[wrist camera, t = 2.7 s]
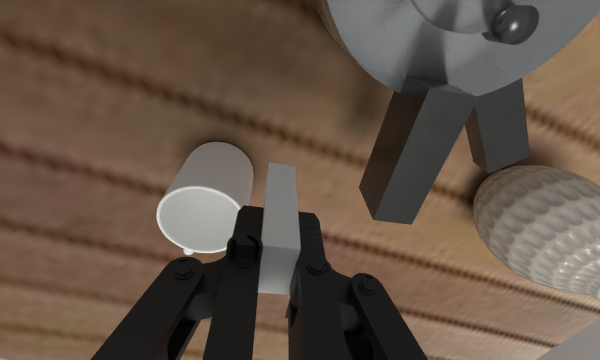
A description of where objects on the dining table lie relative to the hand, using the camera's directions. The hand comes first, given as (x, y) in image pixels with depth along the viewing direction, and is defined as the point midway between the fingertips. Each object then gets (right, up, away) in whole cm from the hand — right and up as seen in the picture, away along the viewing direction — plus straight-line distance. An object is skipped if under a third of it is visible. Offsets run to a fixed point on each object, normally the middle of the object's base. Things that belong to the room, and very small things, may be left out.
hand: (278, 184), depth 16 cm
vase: (+29, -1, +23) cm, 37 cm away
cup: (-10, 0, +20) cm, 22 cm away
